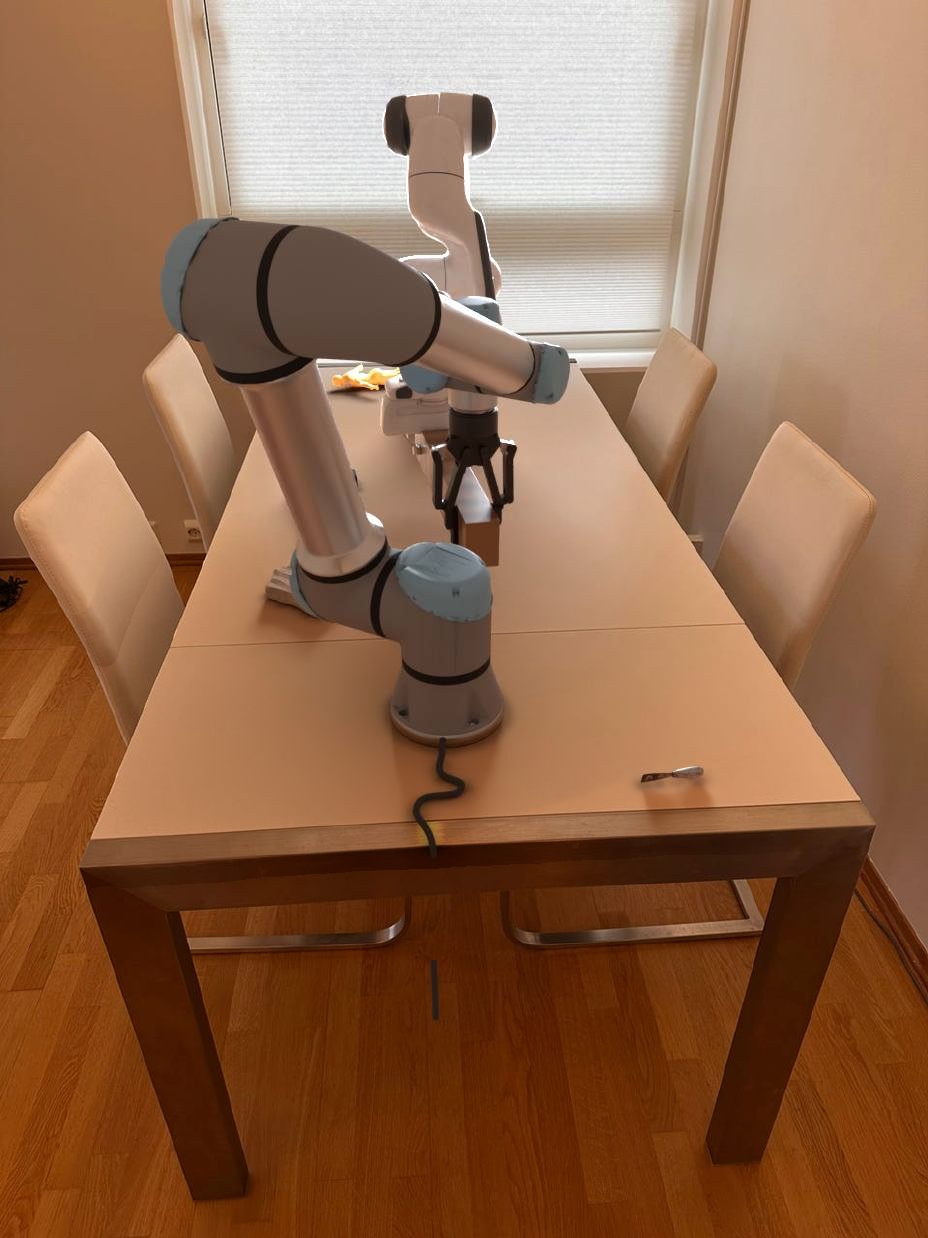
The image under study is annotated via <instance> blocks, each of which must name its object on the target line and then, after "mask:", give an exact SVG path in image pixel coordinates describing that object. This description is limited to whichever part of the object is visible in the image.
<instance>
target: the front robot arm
mask: <svg viewBox="0 0 928 1238" xmlns="http://www.w3.org/2000/svg"><path fill="white" fill-rule="evenodd" d="M159 290H160V291H159V292H160V299H161V300H160V301H161V304H162V309H163V312H164V314H165V316H166V319H167V320H168V322H169V324H170V325H171V326H172V328H173V329H174V330H175V331H176V332H177V333H178V334H179V335H181V336H182V337H185V338H186V339H188V340H189V341H193V342H196V343H198V342H199V343H200V342H202V343H203V344H204V347H205V349H206V351H207V353H208V356H209V359H210V361H211V362H212V365H213V367H214V369H215V372H216V374H217V375H218V378H220V379H221V380H222V382H225V383H227V384H229V385H232V386H235V387H238V388H239V390H240V393H241V395H242V398H243V400H244V403H245V405H246V408H247V410H248V412H249V415H250V417H251V420H252V422H253V425H254V428H255V430H256V432H257V434H258V436H259V439H260V441H261V444H262V447H263V450H264V452H265V453H266V456H267V459H268V461H269V463H270V465H271V469H272V471H273V473H274V475H275V478H276V480H277V483H278V485H279V487H280V490H281V493H282V494H283V497H284V499H285V502H286V504H287V507H288V509H289V512H290V514H291V517H292V519H293V521H294V523H295V526H296V528H297V531H298V534H299V537H298V540H297V542H296V544H295V548H294V550H293V552H292V555H291V558H290V562H289V566H290V568H292V573H291V574H290V575H289V582H290V588H291V591H292V594H293V596H294V598H295V600H296V601H297V603H298V604H299V605H300V607H301V608H302V609H304V610H305V611H306V612H308V613H310V614H312V615H315V616H316V617H315V618H318V619H320V620H322V621H325V622H326V623H331V624H337V625H339V626H343V627H347V628H351V629H354V630H357V631H359V632H364V633H367V634H369V635H373V636H376V637H379V638H383V639H386V640H389V641H391V642H396V643H398V644H399V645H400V655H401V667H400V669H399V672H398V675H397V678H396V681H395V684H394V687H393V690H392V693H391V695H390V700H389V706H390V718H391V721H392V724H393V725H394V727H395V728H396V729H397V731H398V732H399V733H400V734H402V735H403V736H404V737H406V738H407V739H409V740H411V741H413V742H415V743H417V744H420V745H421V744H422V745H425V746H430V747H437V748H438V755H437V759H436V762H435V771H436V773H437V775H438V776H439V778H441V779H442V780H444V781H446V782H448V783H451V784H453V785H456V786H458V787H457V788H456V789H454V790H449V791H437V792H430V793H425V794H422V795H420V796H419V797H418V798H417V799H416V800H415V802H414V804H413V807H412V815H413V817H414V819H415V821H416V823H417V824H418V825H419V827H420V828H421V829H422V831H423V833H424V835H425V837H426V839H427V843H428V849H429V857H430V858H431V859H436V858H437V857H438V850H437V843H436V838H435V835H434V832H433V830H432V828H431V827H430V826H429V824H428V822H427V821H426V820H425V819H424V817H423V816H422V814H421V810H420V809H421V807H422V806H423V804H425V803H426V802H429V801H433V800H444V799H445V800H446V799H453V798H457V797H459V796H460V797H461V795H462V794H463V793H464V792H465V790H466V783H465V781H464V780H463V779H461V778H459V777H457V776H454V775H451V774H450V773H447V772H445V770H444V769H443V768H444V761H445V758H446V748H454V747H455V748H457V747H463V746H467V745H471V744H473V743H476V742H480V741H481V740H483V739H485V738H486V737H488V736H489V735H491V734H492V733H493V732H494V731H495V730H496V729H498V727H499V726H500V724H501V722H502V720H503V717H504V702H505V701H504V696H503V695H504V694H503V693H502V690H501V687H500V685H499V682H498V679H497V677H496V674H495V672H494V668H493V666H492V664H491V654H492V653H491V651H492V649H491V648H492V611H493V610H492V608H493V603H494V596H493V591H492V580H491V579H492V578H491V573H490V570H489V568H488V567H486V564H485V563H484V561H483V560H482V559H481V558H480V557H479V556H478V555H476V554H475V553H473V552H472V551H470V550H468V549H466V548H464V547H462V546H459V545H458V512H457V510H456V507H455V502H456V499H457V495H458V492H459V488H460V485H461V482H462V478H463V475H464V474H465V471H466V468H467V467H470V468H472V467H474V466H475V467H482V470H483V473H484V477H485V480H486V483H487V487H488V490H489V494H490V497H491V500H492V502H490V504H491V506H492V507H493V509H494V511H495V513H496V515H497V516H498V518H499V520H500V526H501V525H502V522H503V510H504V508H505V505H507V504H509V505H511V504H513V503H514V501H515V483H514V482H515V481H514V480H515V477H514V476H515V474H514V471H515V469H514V468H515V467H514V460H515V456H516V453H517V451H518V446H517V445H516V443H515V441H513V440H512V439H507V440H504V439H501V438H500V435H499V408H498V407H497V406H498V405H499V398H504V399H509V400H515V401H520V402H526V403H531V404H533V405H536V404H541V405H547V406H548V405H549V406H550V405H551V406H552V405H555V404H557V403H558V402H560V400H562V398H563V396H564V395H565V393H566V391H567V388H568V383H569V379H570V374H571V360H570V356H569V353H568V351H567V350H566V349H565V347H563V346H560V345H556V344H551V343H549V342H546V341H544V342H537V341H532V340H530V339H528V338H525V337H524V336H521V335H519V334H516V333H515V332H513V331H511V330H509V329H507V328H505V327H504V326H503V327H501V326H500V315H501V312H500V313H499V311H500V306H499V304H498V301H497V300H496V301H494V300H493V299H490V298H485V297H477V296H469V297H459V298H455V299H453V300H450V299H448V298H447V297H445V296H443V295H441V294H439V291H438V289H437V287H436V286H435V284H434V283H433V281H432V280H431V279H430V278H429V277H428V276H427V275H425V274H424V273H422V272H421V271H419V270H417V269H415V268H414V267H412V266H410V265H408V264H406V263H404V262H403V261H401V260H399V258H397V257H395V256H394V255H392V254H390V253H387V252H386V251H385V250H382V249H380V248H379V247H376V246H374V245H372V244H370V243H368V242H366V241H364V240H361V239H359V238H357V237H355V236H352V235H350V234H347V233H344V232H341V231H339V230H335V229H332V228H328V227H325V226H319V225H308V224H306V225H301V224H291V223H278V222H269V221H268V222H266V221H254V220H243V219H240V218H239V217H235V216H226V217H221V218H218V217H217V218H214V217H213V218H212V217H211V218H210V217H208V218H207V217H205V218H199V219H196V220H193V221H191V222H190V223H188V224H186V225H185V226H184V227H182V228H181V229H180V230H179V231H178V232H177V233H176V235H175V236H174V237H173V239H172V240H171V242H170V244H169V246H168V248H167V250H166V252H165V255H164V264H163V267H162V269H161V270H160V279H159ZM317 360H333V361H334V360H335V361H339V360H340V361H353V362H363V363H374V364H379V365H383V366H386V367H389V368H399V371H400V374H401V377H402V379H403V381H404V382H405V384H406V385H407V386H408V387H409V388H410V389H411V390H413V391H415V392H417V393H419V394H431V393H436V392H439V391H441V390H443V389H444V388H448V403H449V405H450V406H451V407H450V408H449V410H448V412H449V435H448V438H447V440H446V443H445V444H442V445H440V446H437V447H436V446H435V445H432V446H430V448H429V451H430V453H431V456H432V459H433V481H432V491H431V502H432V504H433V507H434V509H435V510H436V511H440V510H443V511H444V518H443V524H444V527H445V529H446V531H449V530H450V531H451V534H450V542H446V541H437V542H436V543H432V542H431V541H423V542H418V543H415V544H412V545H410V546H408V547H406V548H405V549H400V548H397V547H393V546H392V545H390V542H389V540H388V536H387V534H386V531H385V528H384V526H383V524H382V522H381V521H380V520H379V519H378V518H377V517H376V516H375V515H372V514H371V513H368V512H367V511H366V508H365V505H364V503H363V498H362V496H361V493H360V489H359V486H358V487H357V484H356V481H355V478H354V475H353V472H352V469H353V468H352V465H351V463H350V459H349V457H348V453H347V451H346V448H345V445H344V442H343V439H342V435H341V433H340V430H339V427H338V424H337V421H336V418H335V414H334V412H333V408H332V405H331V402H330V399H329V396H328V392H327V390H326V387H325V384H324V381H323V378H322V375H321V372H320V369H319V366H318V362H317ZM499 448H500V450H499V451H500V453H501V454H502V459H501V460H502V493H500V489H499V487H498V482H497V479H496V476H495V475H496V474H495V473H494V467H493V464H492V460H491V459H492V458H493V457H494V455H496V452H497V451H498V449H499ZM447 451H449V452H450V453H451V454H452V456H453V457H454V458H455V460H454V464H453V470H452V474H451V477H450V481H449V484H448V488H447V492H446V495H445V499H444V500H443V499H442V492H443V463H442V460H444V459H445V457H446V452H447ZM306 612H305V613H306ZM429 961H430V984H431V985H430V986H431V1010H432V1011H431V1012H432V1020H433V1021H434V1022H435V1021H437V1022H438V1021H439V1019H440V1003H439V973H438V972H439V970H438V960H437V959H431V958H430V960H429Z"/></svg>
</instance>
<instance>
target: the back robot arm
mask: <svg viewBox="0 0 928 1238" xmlns="http://www.w3.org/2000/svg"><path fill="white" fill-rule="evenodd" d="M381 122H382V123H381V125H382V126H381V127H382V134H383V138H384V141H385V142H386V146H387V148H388V150H389V151H391V153H392V154H394V155H397V156H400V157H402V158H407V168H406V169H407V171H406V191H407V192H406V194H407V205H408V211H409V213H410V215H411V217H412V219H414V221H415V222H416V223H417V225H418V228H419V229H420V231H421V232H422V233H423V234H424V235H426V236H427V237H428V238H431V239H432V240H434V241H436V242H438V243H440V244H442V245H443V246H444V247H445V248H446V253H445V254H443V255H441V254H440V255H413V256H407V257H403V258H400V259H399V258H398V259H399V260H401V261H403V262H404V263H406V264H408V265H410V266H412V267H414V268H415V269H417V270H419V271H421V272H422V273H424V274H425V275H427V276H428V277H429V278H430V279H431V280H432V281H433V283H434V284H435V286H436V287H437V289H438V291H439V294H441V295H443V296H445V297H447V298H448V299H450V300H453V299H455V298H459V297H469V296H477V297H485V298H490V299H493V300H494V301H496V302H497V298H498V296H499V295H500V292H501V289H502V284H503V277H502V272H501V269H500V267H499V265H498V263H497V262H496V261H495V260H494V258H493V257H491V253H490V252H491V251H490V247H489V242H488V236H487V230H486V224H485V221H484V217H483V216H482V213H481V212H480V211H478V209H476V208H474V207H473V206H472V203H471V201H470V173H469V172H470V171H469V161H468V160H469V159H468V156H471V157H472V160H473V161H475V160H476V159H477V157H478V158H479V157H481V156H483V155H486V154H487V153H488V152H489V151H490V150H491V149H492V148H493V144H494V142H495V140H496V137H497V133H498V117H497V112H496V110H495V108H494V103H493V101H492V100H491V99H490V97H488V96H486V95H482V94H478V93H472V95H471V94H466V93H459V92H447V91H446V92H444V91H440V92H439V93H438V92H437V93H435V92H434V93H433V92H432V93H420V94H411V95H407V94H405V93H404V94H400V95H396V96H393V97H391V98H390V99H389V100H388V101H387V103H386V104H385V110H384V112H383V116H382V121H381ZM499 313H500V326H501V327H503V328H504V325H503V319H502V315H501V312H500V310H499ZM384 389H385V394H384V395H383V397H382V399H381V402H380V412H379V413H380V414H379V425H380V430H381V432H382V433H383V435H384V436H386V437H395V436H396V437H397V436H405V437H406V439H407V441H408V442H409V444H410V445H411V448H412V455H413V456H416V455H421V446H420V444H415V434H421V431H429V430H442V429H449V412H448V410H449V408H450V407H451V406H450V405H449V403H448V388H444V389H443V390H441V391H439V392H436V393H431V394H419V393H417V392H415V391H413V390H411V389H410V388H409V387H408V386H407V385H406V384H405V382H404V381H403V379H402V377H401V374H400V375H398V376H395V377H393V378H390V379H388V380H386V381H385V385H384Z"/></svg>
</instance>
